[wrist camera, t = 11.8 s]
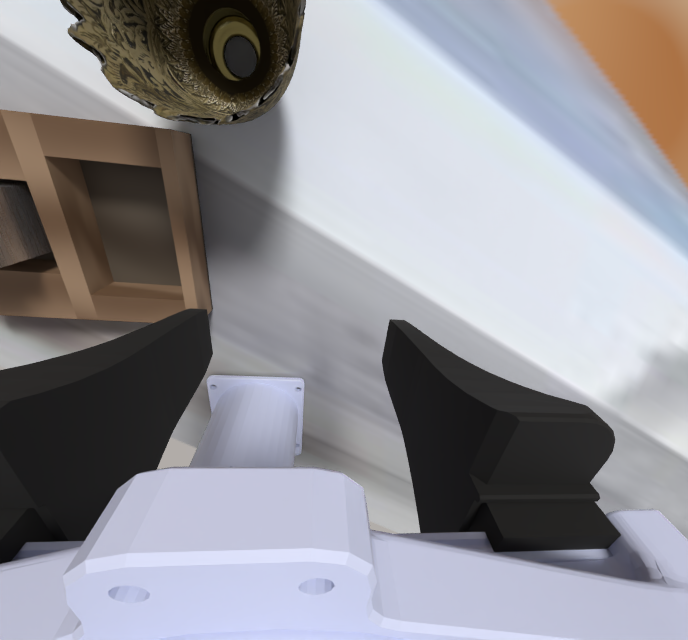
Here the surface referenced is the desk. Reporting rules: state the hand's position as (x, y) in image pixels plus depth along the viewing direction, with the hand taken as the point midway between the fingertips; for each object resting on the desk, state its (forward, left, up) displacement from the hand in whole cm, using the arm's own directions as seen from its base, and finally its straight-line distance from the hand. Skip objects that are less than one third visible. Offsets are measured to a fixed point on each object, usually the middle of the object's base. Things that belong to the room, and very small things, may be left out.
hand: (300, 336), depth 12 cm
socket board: (+2, +14, -10) cm, 17 cm away
